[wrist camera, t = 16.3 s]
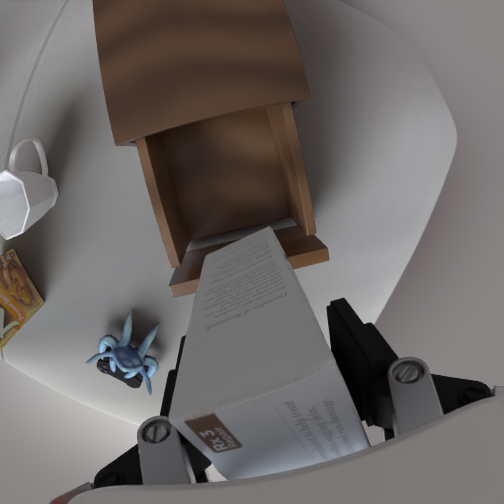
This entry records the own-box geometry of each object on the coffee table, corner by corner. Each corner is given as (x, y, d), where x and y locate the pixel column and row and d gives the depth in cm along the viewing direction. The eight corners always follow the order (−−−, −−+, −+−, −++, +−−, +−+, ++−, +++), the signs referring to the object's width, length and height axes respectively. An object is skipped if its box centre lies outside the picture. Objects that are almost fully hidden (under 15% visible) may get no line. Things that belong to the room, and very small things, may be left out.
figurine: (170, 320, 37) (172, 367, 30) (146, 375, 41) (147, 418, 34) (98, 299, 33) (87, 345, 26) (86, 359, 37) (79, 402, 30)
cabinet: (284, 114, 29) (311, 98, 19) (148, 147, 29) (115, 146, 19) (252, -7, 24) (262, -56, 14) (124, 24, 24) (91, -14, 14)
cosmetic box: (307, 305, 19) (390, 465, 7) (243, 334, 19) (269, 510, 8) (268, 218, 17) (357, 354, 5) (196, 253, 17) (160, 429, 6)
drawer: (311, 272, 34) (335, 308, 26) (196, 300, 34) (190, 342, 26) (277, 100, 28) (296, 82, 20) (148, 131, 27) (122, 125, 20)
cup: (23, 217, 29) (-15, 235, 22) (28, 138, 26) (-14, 139, 19) (66, 224, 30) (30, 244, 23) (72, 138, 27) (33, 138, 20)
